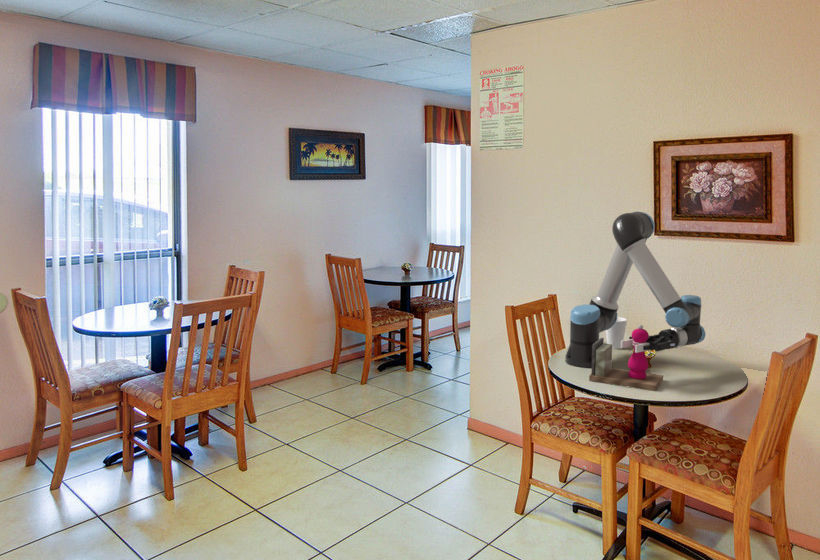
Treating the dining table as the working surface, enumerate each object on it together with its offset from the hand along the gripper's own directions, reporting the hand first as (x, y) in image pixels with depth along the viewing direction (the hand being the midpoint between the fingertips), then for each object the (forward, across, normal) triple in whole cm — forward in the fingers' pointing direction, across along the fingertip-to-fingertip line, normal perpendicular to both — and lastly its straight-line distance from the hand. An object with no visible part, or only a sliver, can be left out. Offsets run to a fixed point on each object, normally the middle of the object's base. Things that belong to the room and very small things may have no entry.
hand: (628, 346), depth 235 cm
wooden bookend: (-3, +4, -14) cm, 15 cm away
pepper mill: (-5, 0, -13) cm, 14 cm away
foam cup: (-35, +40, -15) cm, 55 cm away
